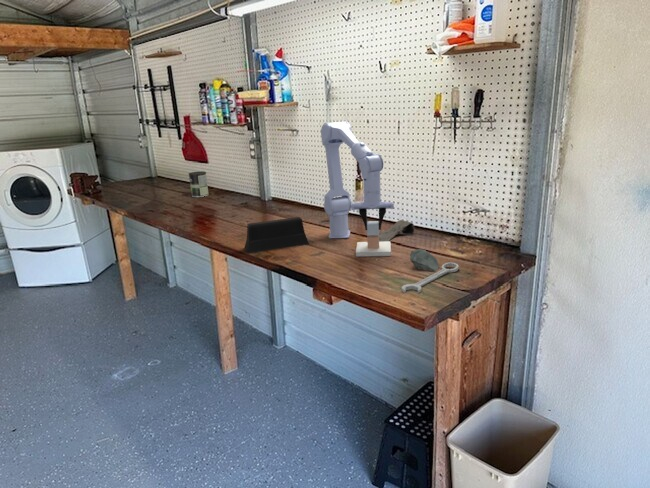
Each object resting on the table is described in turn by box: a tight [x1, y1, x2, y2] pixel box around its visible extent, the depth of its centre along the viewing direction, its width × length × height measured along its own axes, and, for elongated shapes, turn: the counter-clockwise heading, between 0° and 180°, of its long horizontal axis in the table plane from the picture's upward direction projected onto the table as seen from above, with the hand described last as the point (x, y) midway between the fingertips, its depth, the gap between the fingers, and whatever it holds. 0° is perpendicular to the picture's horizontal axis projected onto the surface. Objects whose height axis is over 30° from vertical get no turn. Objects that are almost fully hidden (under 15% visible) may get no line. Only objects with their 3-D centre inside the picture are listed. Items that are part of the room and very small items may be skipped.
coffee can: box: [188, 171, 210, 198], centre depth 288 cm, size 10×10×14 cm
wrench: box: [401, 262, 460, 294], centre depth 139 cm, size 26×5×2 cm, turn 135°
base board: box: [355, 240, 392, 257], centre depth 168 cm, size 12×12×2 cm
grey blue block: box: [366, 220, 380, 236], centre depth 166 cm, size 4×4×4 cm
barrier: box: [243, 216, 310, 254], centre depth 179 cm, size 24×9×10 cm, turn 109°
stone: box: [409, 248, 440, 272], centre depth 151 cm, size 11×4×10 cm
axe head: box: [379, 219, 416, 242], centre depth 183 cm, size 21×5×10 cm
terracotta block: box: [366, 235, 379, 249], centre depth 167 cm, size 4×4×4 cm
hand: (373, 229), depth 166 cm, fingers closed on grey blue block, 4 cm apart
